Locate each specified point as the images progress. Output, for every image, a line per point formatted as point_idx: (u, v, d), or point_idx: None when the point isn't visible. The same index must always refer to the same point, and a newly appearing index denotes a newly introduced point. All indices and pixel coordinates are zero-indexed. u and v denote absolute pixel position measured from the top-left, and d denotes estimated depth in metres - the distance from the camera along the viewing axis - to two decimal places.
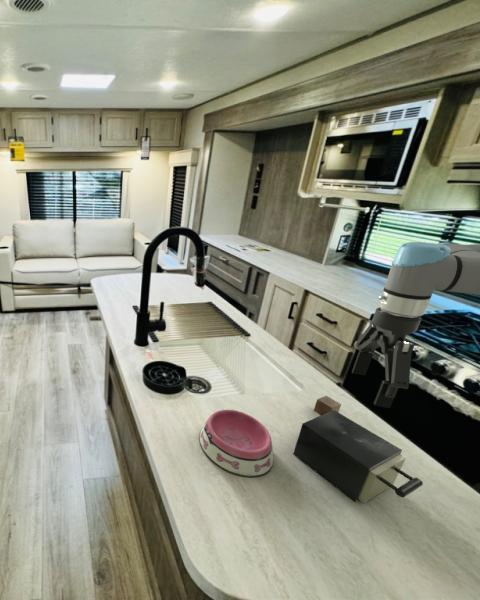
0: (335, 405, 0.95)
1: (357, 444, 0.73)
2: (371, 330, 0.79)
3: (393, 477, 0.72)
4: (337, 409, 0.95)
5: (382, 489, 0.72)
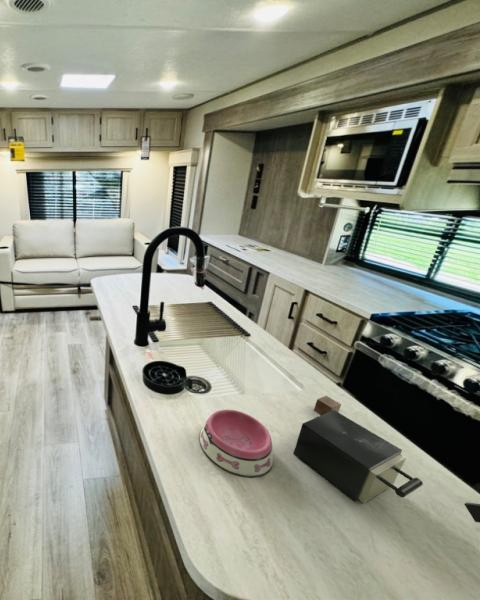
0: (335, 405, 0.95)
1: (357, 444, 0.73)
2: None
3: (393, 477, 0.72)
4: (337, 409, 0.95)
5: (382, 489, 0.72)
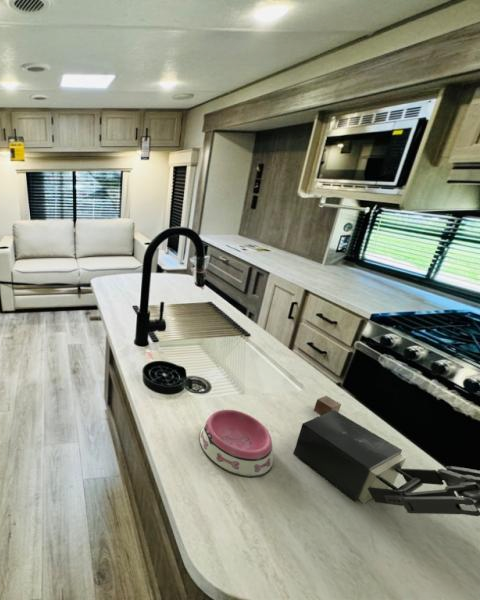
0: (335, 405, 0.95)
1: (357, 444, 0.73)
2: None
3: (393, 477, 0.72)
4: (337, 409, 0.95)
5: None
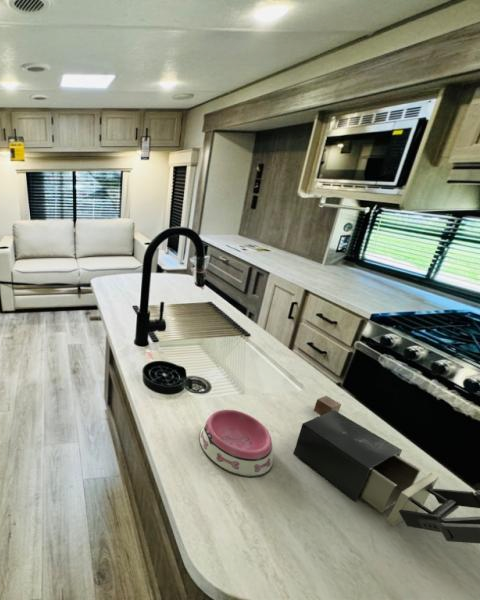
0: (335, 405, 0.95)
1: (357, 444, 0.73)
2: None
3: (424, 498, 0.67)
4: (337, 409, 0.95)
5: (412, 510, 0.67)
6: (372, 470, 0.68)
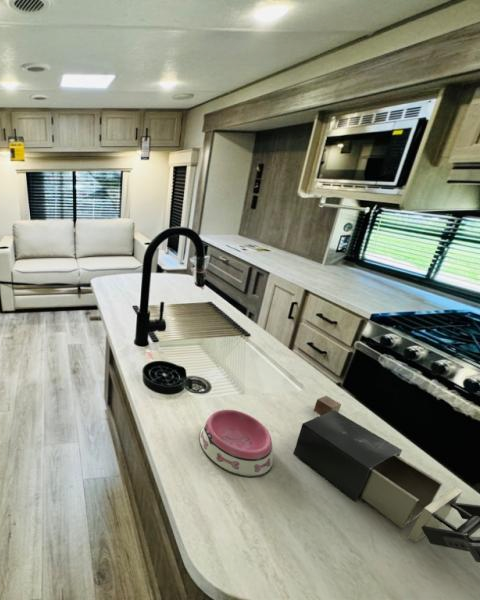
0: (335, 405, 0.95)
1: (357, 444, 0.73)
2: None
3: (446, 512, 0.64)
4: (337, 409, 0.95)
5: (434, 526, 0.64)
6: (392, 483, 0.65)
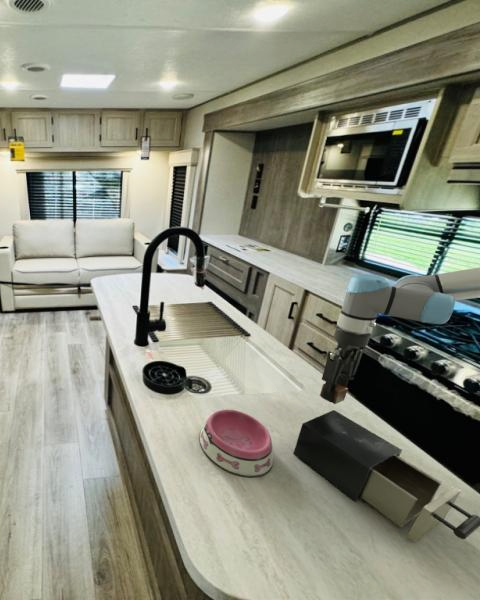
0: (341, 390, 0.92)
1: (357, 444, 0.73)
2: None
3: (446, 512, 0.65)
4: (344, 394, 0.93)
5: (433, 525, 0.64)
6: (391, 483, 0.65)
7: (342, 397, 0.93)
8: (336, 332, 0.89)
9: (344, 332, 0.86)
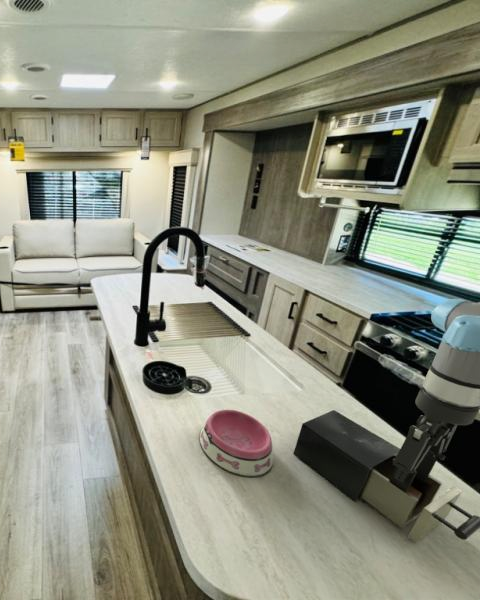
0: (414, 496, 0.66)
1: (357, 444, 0.73)
2: None
3: (446, 512, 0.64)
4: None
5: (434, 526, 0.64)
6: (392, 483, 0.65)
7: None
8: (422, 398, 0.60)
9: (437, 401, 0.58)
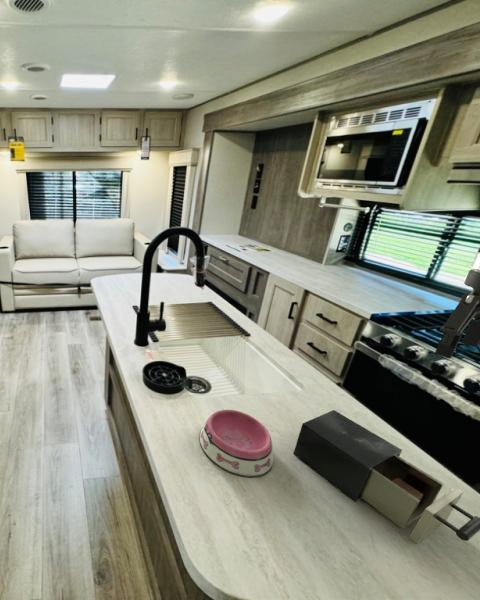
0: None
1: (357, 444, 0.73)
2: None
3: (448, 513, 0.64)
4: None
5: (436, 527, 0.64)
6: (393, 484, 0.65)
7: None
8: (471, 276, 0.75)
9: None
